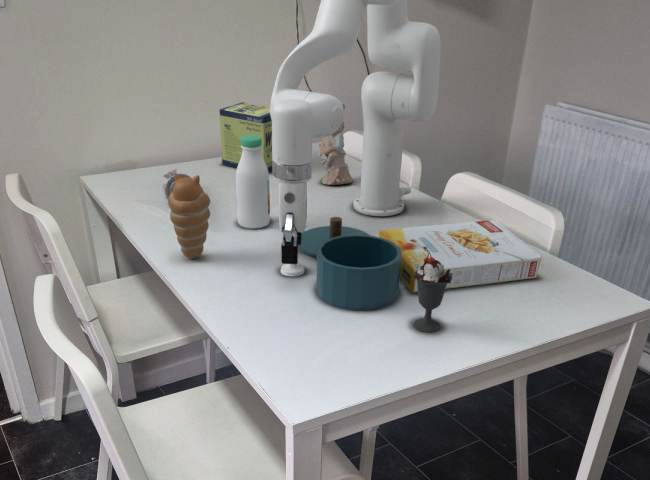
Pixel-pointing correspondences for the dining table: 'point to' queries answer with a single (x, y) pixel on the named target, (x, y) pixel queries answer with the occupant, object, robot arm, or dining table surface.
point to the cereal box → (465, 253)
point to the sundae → (430, 291)
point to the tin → (358, 272)
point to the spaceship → (171, 182)
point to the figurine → (334, 158)
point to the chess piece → (292, 268)
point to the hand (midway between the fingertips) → (291, 253)
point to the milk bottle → (252, 185)
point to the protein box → (245, 131)
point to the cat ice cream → (189, 214)
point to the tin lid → (325, 235)
